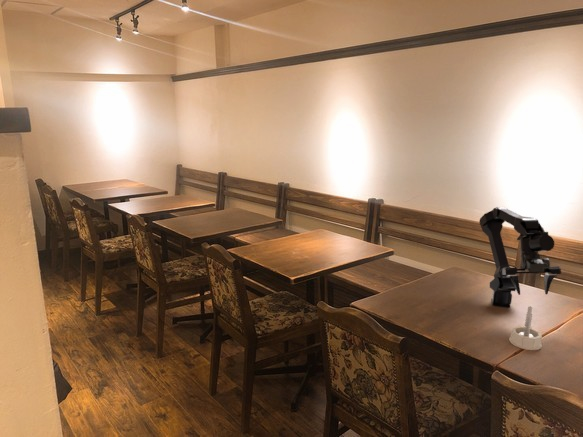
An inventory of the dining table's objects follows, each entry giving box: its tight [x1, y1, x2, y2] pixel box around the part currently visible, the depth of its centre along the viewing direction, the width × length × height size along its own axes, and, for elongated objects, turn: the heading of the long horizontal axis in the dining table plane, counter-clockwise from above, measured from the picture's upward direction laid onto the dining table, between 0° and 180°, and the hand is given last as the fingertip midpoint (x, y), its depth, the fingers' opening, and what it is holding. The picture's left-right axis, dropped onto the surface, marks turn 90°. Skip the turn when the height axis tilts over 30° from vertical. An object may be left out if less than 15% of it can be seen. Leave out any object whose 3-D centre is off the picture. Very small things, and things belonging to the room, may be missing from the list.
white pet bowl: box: [509, 325, 543, 351], centre depth 160 cm, size 10×10×4 cm
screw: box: [519, 306, 534, 338], centre depth 159 cm, size 13×5×5 cm
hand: (532, 294), depth 172 cm, fingers open, 9 cm apart
